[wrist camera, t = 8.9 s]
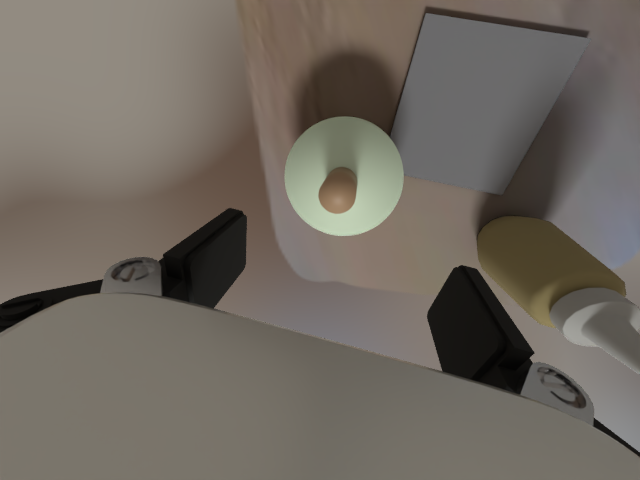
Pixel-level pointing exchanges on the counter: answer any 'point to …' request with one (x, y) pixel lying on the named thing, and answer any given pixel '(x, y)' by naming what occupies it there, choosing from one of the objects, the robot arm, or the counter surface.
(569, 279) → the squeeze bottle
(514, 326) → the robot arm
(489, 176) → the mat
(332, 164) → the lid
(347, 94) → the counter surface
